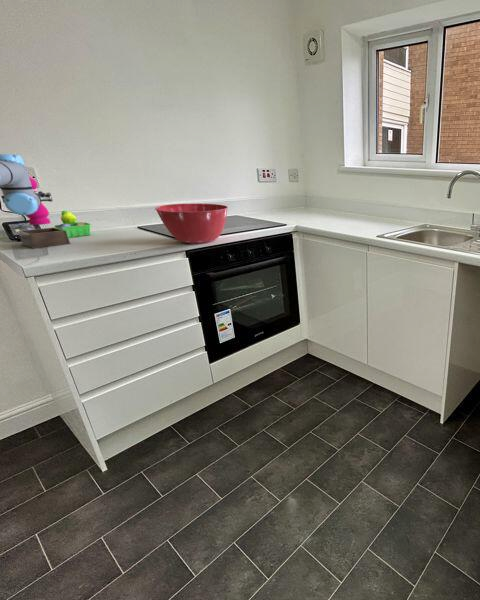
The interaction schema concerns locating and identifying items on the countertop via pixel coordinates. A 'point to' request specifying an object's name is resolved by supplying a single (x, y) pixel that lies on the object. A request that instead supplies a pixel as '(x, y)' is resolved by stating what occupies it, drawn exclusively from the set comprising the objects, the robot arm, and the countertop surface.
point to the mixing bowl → (194, 221)
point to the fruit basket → (73, 225)
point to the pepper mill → (38, 210)
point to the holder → (43, 237)
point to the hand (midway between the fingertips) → (32, 195)
